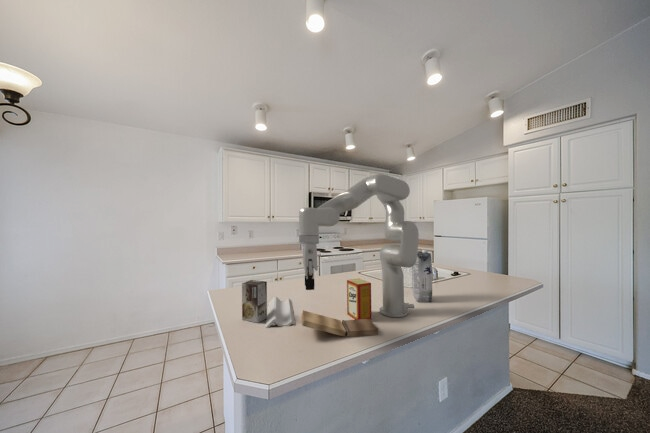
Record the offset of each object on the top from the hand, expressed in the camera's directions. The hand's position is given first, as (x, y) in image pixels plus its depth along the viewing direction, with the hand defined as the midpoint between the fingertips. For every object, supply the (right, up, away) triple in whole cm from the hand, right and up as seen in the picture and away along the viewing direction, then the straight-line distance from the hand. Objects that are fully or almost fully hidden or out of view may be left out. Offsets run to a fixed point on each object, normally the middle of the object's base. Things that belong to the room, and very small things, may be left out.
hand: (309, 287), depth 91 cm
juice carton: (+58, -18, +38) cm, 72 cm away
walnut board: (+19, -17, +2) cm, 26 cm away
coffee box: (-25, -18, +14) cm, 34 cm away
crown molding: (-15, -19, +21) cm, 33 cm away
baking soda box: (+21, -18, +15) cm, 32 cm away
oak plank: (+5, -15, 0) cm, 15 cm away
